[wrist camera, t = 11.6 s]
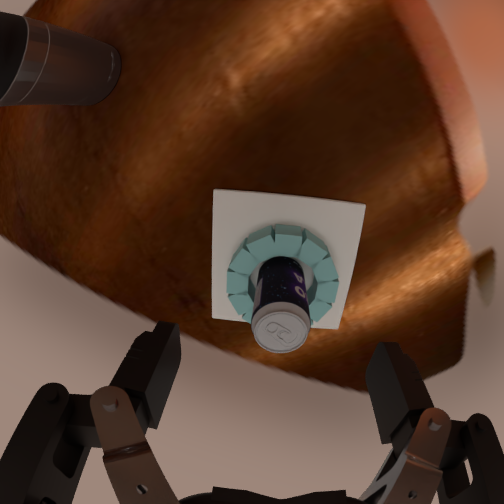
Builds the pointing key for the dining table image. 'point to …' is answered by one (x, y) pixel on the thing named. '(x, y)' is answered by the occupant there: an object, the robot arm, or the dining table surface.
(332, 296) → the ring
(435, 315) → the dining table surface
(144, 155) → the dining table surface
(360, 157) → the dining table surface
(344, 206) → the mat
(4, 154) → the dining table surface
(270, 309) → the beverage can
